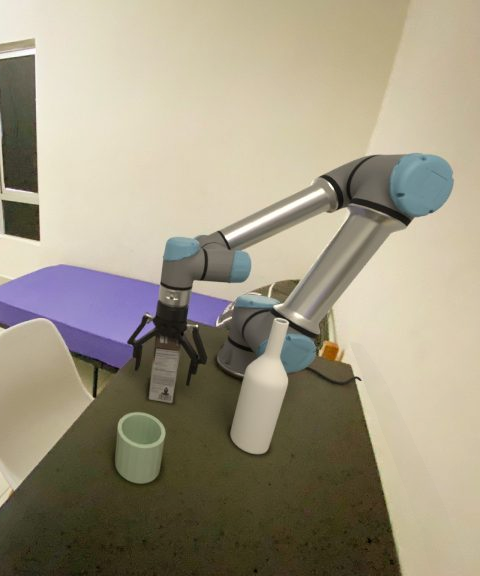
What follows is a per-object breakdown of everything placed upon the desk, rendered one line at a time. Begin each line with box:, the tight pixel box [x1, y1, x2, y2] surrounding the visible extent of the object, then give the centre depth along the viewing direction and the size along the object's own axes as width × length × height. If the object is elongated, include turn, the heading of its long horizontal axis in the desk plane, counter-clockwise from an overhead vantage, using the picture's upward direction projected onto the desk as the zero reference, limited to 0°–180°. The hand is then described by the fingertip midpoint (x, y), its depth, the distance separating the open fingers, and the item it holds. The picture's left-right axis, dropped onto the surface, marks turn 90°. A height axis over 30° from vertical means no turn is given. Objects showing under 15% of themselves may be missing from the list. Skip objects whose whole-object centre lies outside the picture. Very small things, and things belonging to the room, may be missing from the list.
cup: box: [114, 411, 166, 485], centre depth 66 cm, size 9×9×9 cm
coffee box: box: [148, 333, 182, 404], centre depth 87 cm, size 9×6×16 cm
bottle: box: [229, 318, 289, 455], centre depth 69 cm, size 8×8×30 cm
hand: (162, 375), depth 88 cm, fingers open, 13 cm apart
